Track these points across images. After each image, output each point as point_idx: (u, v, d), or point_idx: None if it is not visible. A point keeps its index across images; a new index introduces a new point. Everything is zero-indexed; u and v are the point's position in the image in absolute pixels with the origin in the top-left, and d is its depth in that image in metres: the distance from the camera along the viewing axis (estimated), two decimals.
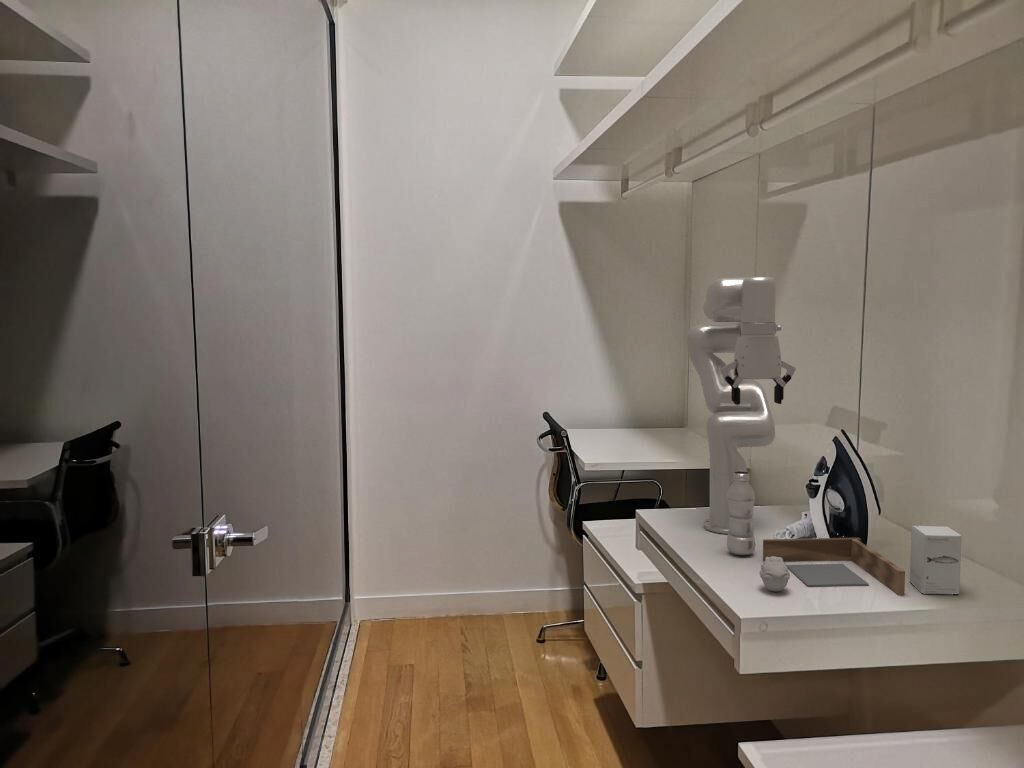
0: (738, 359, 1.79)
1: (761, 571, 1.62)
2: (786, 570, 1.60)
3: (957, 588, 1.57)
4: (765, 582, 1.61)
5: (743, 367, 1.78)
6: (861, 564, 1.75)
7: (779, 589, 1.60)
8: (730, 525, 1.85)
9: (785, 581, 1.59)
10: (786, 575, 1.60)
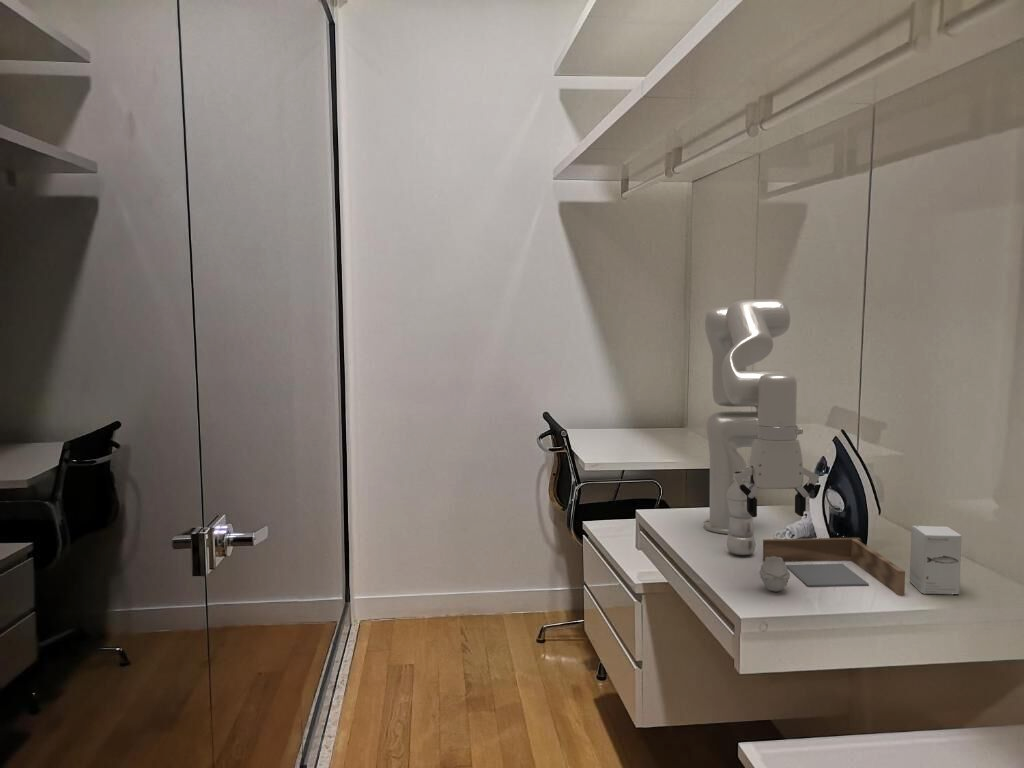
0: (754, 466, 1.58)
1: (761, 571, 1.62)
2: (786, 570, 1.60)
3: (957, 588, 1.57)
4: (765, 582, 1.61)
5: (760, 476, 1.58)
6: (861, 564, 1.75)
7: (779, 589, 1.60)
8: (730, 525, 1.85)
9: (785, 581, 1.59)
10: (786, 575, 1.60)
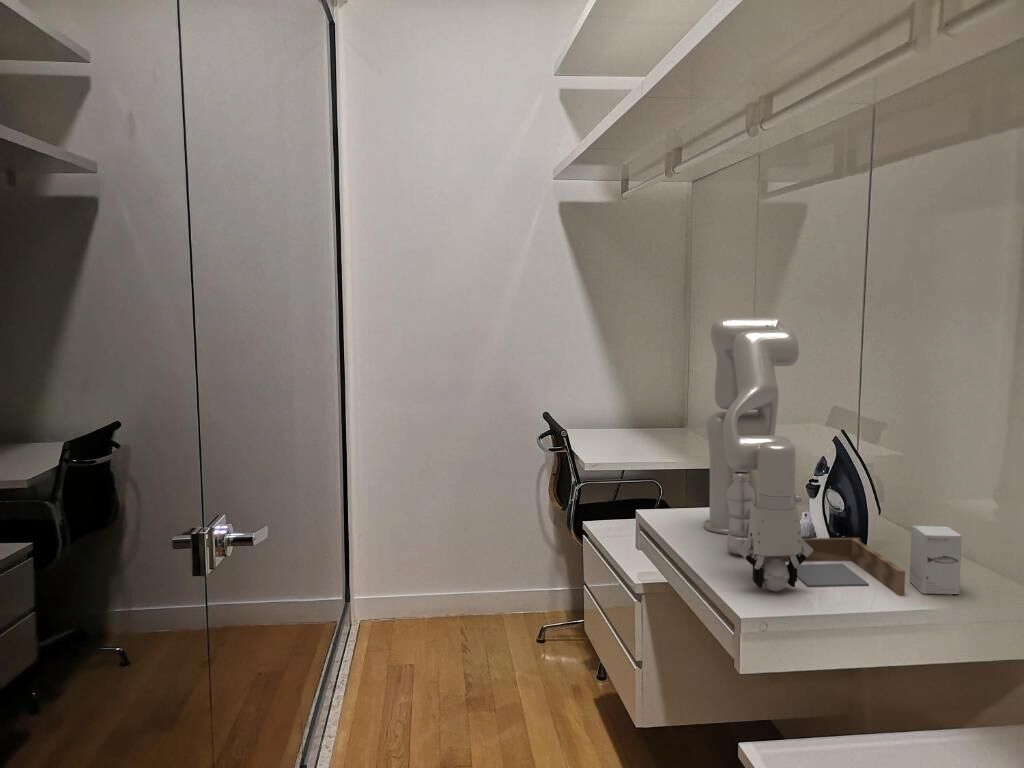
0: (753, 534, 1.60)
1: None
2: (786, 570, 1.60)
3: (957, 588, 1.57)
4: (765, 582, 1.61)
5: (759, 544, 1.59)
6: (861, 564, 1.75)
7: (779, 589, 1.60)
8: (730, 525, 1.85)
9: (785, 581, 1.59)
10: (786, 575, 1.60)
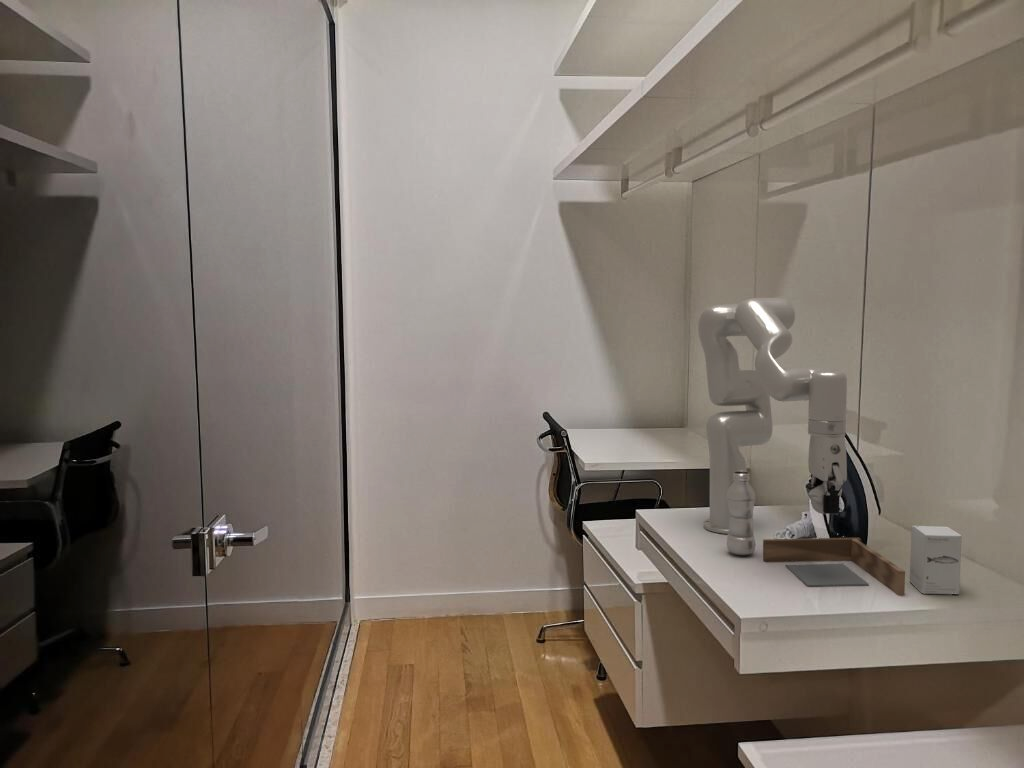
0: None
1: None
2: (820, 494, 1.67)
3: (957, 588, 1.57)
4: None
5: (809, 462, 1.72)
6: (861, 564, 1.75)
7: (815, 509, 1.69)
8: (730, 525, 1.85)
9: (813, 502, 1.68)
10: (816, 497, 1.67)
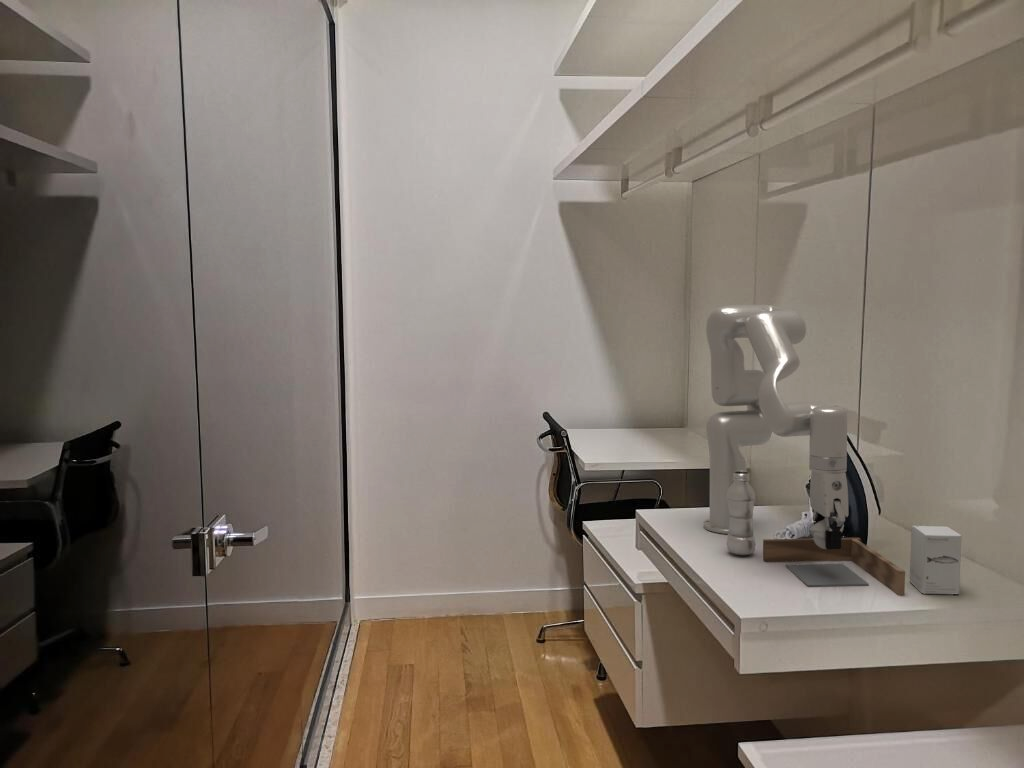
0: None
1: None
2: (822, 529, 1.68)
3: (957, 588, 1.57)
4: None
5: (810, 496, 1.73)
6: (861, 564, 1.75)
7: (817, 544, 1.69)
8: (730, 525, 1.85)
9: (816, 537, 1.68)
10: (818, 532, 1.68)
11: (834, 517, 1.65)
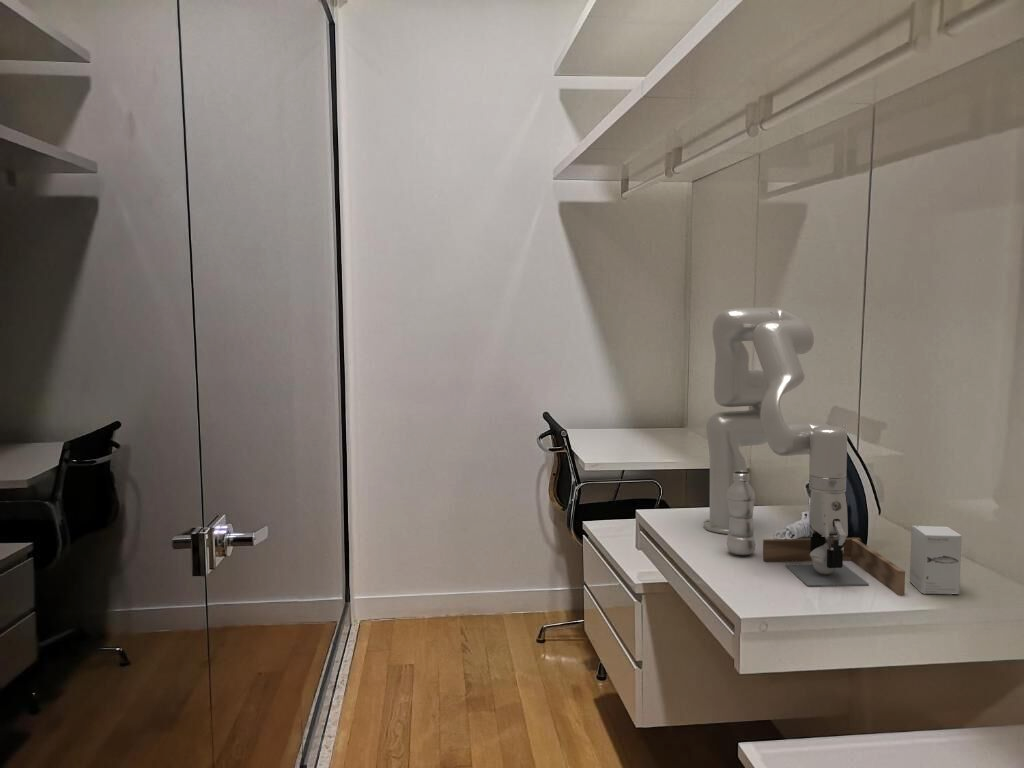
0: None
1: None
2: (821, 555, 1.68)
3: (957, 588, 1.57)
4: None
5: (810, 515, 1.73)
6: (861, 564, 1.75)
7: (816, 570, 1.70)
8: (730, 525, 1.85)
9: (815, 563, 1.69)
10: (817, 558, 1.68)
11: (834, 536, 1.65)
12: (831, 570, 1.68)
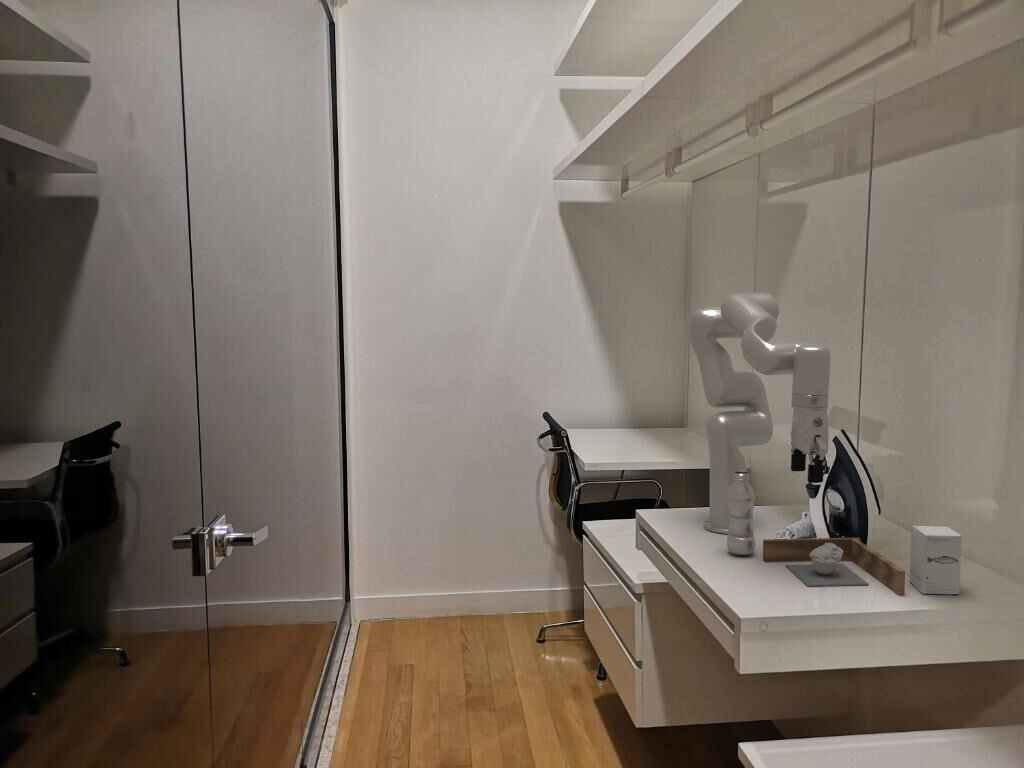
0: None
1: None
2: (821, 555, 1.68)
3: (957, 588, 1.57)
4: None
5: (792, 434, 1.76)
6: (861, 564, 1.75)
7: (816, 570, 1.70)
8: (730, 525, 1.85)
9: (815, 563, 1.69)
10: (817, 558, 1.68)
11: (816, 451, 1.68)
12: (831, 570, 1.68)
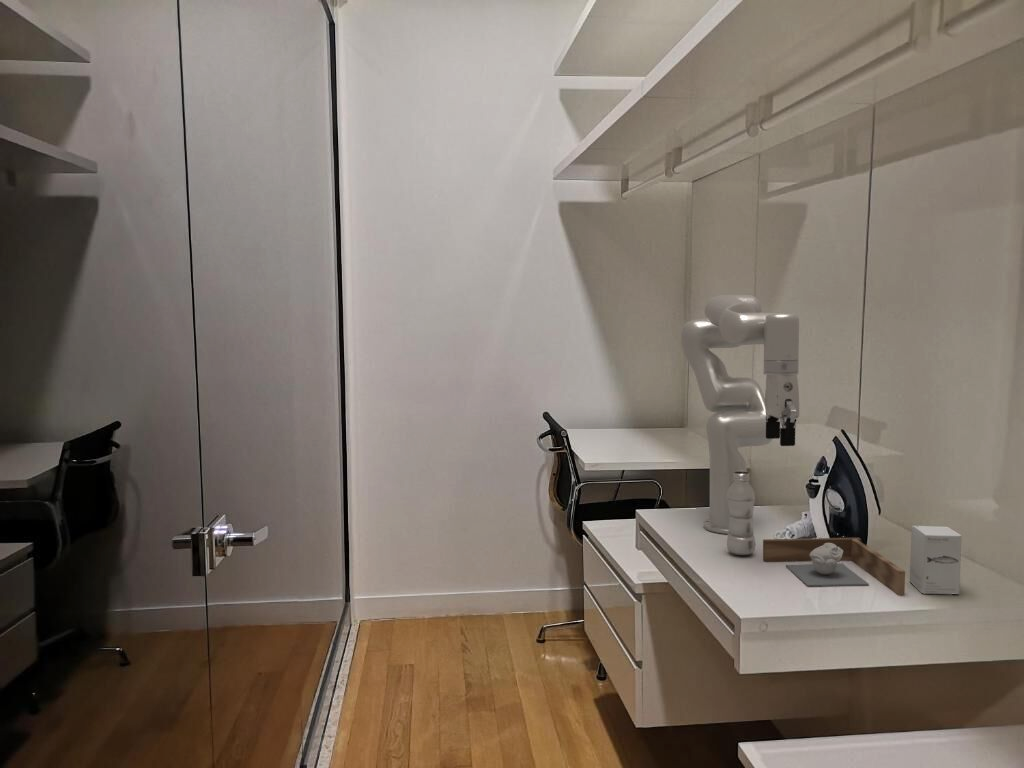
0: None
1: None
2: (821, 555, 1.68)
3: (957, 588, 1.57)
4: None
5: (765, 402, 1.81)
6: (861, 564, 1.75)
7: (816, 570, 1.70)
8: (730, 525, 1.85)
9: (815, 563, 1.69)
10: (817, 558, 1.68)
11: (787, 415, 1.73)
12: (831, 570, 1.68)
